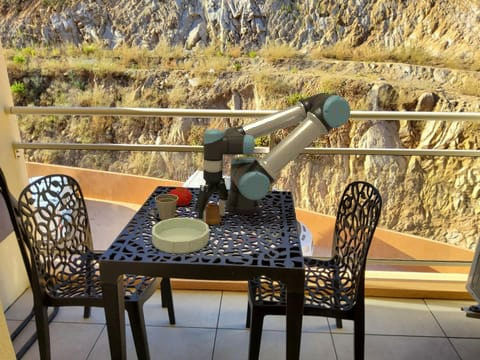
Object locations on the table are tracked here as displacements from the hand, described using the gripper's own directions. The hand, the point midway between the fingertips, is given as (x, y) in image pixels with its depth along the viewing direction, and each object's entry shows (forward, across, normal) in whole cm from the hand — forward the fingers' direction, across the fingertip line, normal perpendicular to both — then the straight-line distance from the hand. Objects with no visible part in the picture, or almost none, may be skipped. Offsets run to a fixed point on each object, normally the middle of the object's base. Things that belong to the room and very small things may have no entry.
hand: (212, 220), depth 156 cm
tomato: (+1, -9, -24) cm, 25 cm away
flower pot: (+1, +7, -18) cm, 19 cm away
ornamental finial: (+1, 0, 0) cm, 1 cm away
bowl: (+1, +20, 0) cm, 20 cm away
